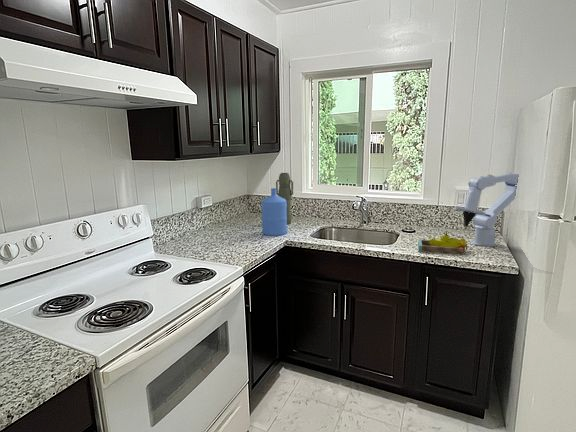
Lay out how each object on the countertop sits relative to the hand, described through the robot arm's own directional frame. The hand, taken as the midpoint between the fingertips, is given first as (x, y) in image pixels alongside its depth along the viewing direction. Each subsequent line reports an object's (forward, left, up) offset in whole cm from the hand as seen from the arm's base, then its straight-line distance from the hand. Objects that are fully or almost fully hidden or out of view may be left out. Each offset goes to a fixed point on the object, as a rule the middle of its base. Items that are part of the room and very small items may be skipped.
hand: (465, 225), depth 185 cm
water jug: (+108, +1, -11) cm, 108 cm away
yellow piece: (+9, +9, -11) cm, 17 cm away
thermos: (+110, -25, -11) cm, 113 cm away
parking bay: (+12, +10, -11) cm, 19 cm away
